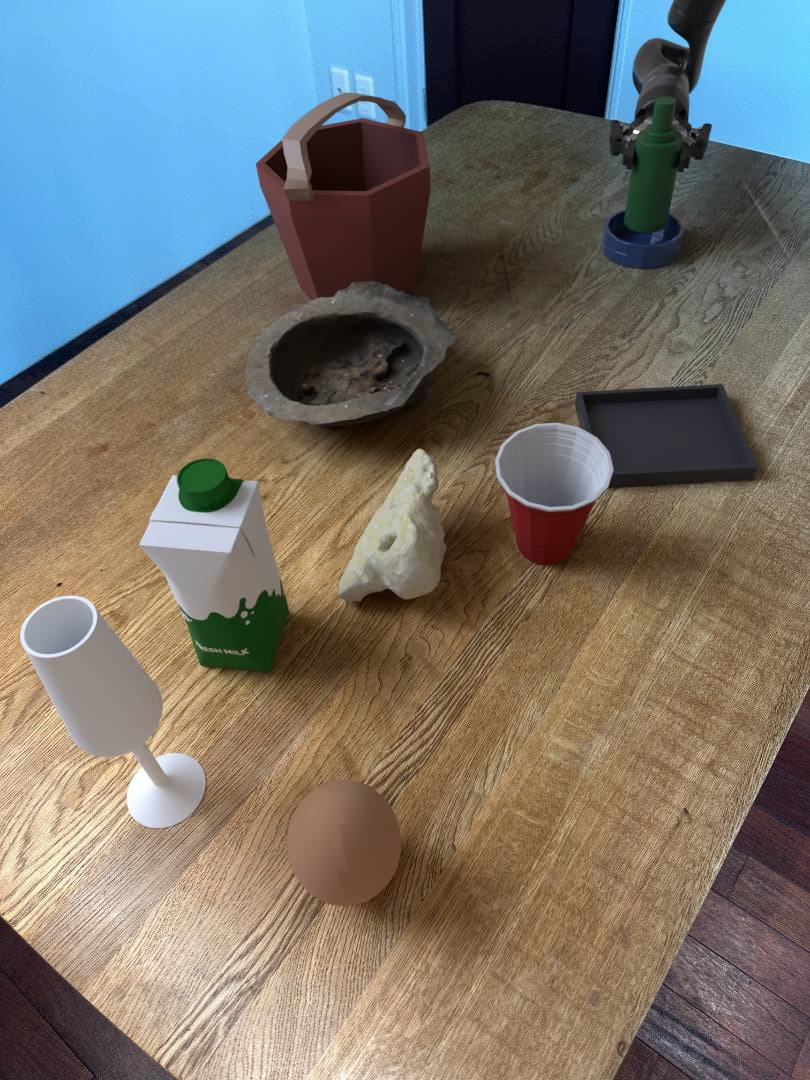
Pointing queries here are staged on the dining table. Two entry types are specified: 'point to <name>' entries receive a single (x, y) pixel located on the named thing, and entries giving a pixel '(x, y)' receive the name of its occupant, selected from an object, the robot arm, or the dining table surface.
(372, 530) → the cheese
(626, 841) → the dining table surface
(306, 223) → the bucket
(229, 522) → the milk carton
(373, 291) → the stone bowl
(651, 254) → the bowl
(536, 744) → the dining table surface
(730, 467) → the tray
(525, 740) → the dining table surface
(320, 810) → the egg
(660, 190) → the bottle
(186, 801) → the champagne flute
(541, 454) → the plastic cup
